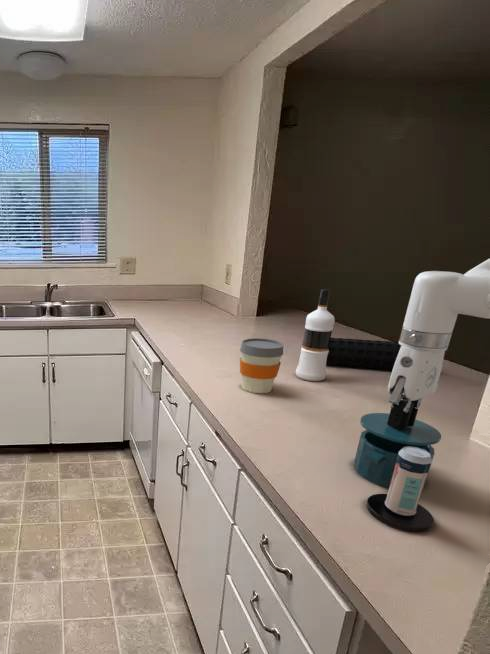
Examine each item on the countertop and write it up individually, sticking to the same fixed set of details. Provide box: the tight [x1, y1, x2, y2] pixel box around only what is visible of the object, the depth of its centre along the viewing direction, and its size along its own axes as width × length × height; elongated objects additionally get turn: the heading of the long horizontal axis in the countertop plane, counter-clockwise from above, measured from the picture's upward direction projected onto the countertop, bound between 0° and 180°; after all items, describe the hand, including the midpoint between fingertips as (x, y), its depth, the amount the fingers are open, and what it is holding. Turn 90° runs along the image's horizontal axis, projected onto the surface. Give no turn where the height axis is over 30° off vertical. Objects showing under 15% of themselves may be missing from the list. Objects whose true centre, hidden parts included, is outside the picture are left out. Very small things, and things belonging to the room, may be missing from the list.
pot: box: [353, 429, 435, 489], centre depth 91 cm, size 13×18×8 cm
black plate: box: [366, 493, 435, 533], centre depth 79 cm, size 10×10×1 cm
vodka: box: [295, 288, 336, 382], centre depth 144 cm, size 9×9×30 cm
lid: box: [360, 399, 442, 446], centre depth 88 cm, size 14×14×7 cm
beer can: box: [385, 446, 433, 516], centre depth 77 cm, size 5×5×12 cm
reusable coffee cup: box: [239, 337, 284, 394], centre depth 137 cm, size 12×13×15 cm
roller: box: [326, 337, 402, 370], centre depth 158 cm, size 38×10×10 cm, turn 71°
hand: (400, 425), depth 88 cm, fingers closed on lid, 2 cm apart
